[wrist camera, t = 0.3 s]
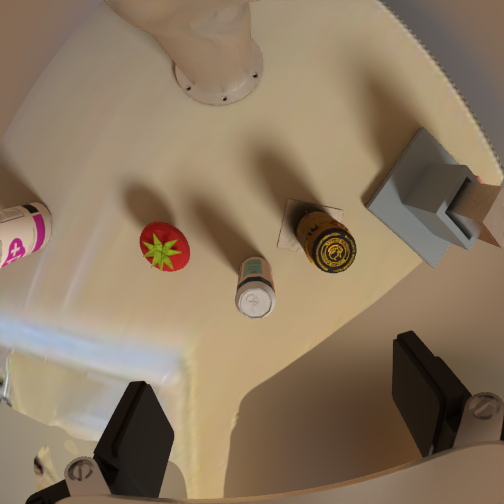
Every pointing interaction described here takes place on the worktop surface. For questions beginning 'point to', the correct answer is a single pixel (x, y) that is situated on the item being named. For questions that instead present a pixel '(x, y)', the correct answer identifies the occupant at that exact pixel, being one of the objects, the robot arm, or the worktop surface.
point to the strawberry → (164, 246)
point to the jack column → (479, 212)
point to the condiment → (317, 235)
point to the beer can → (255, 288)
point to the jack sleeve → (423, 198)
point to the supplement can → (23, 231)
